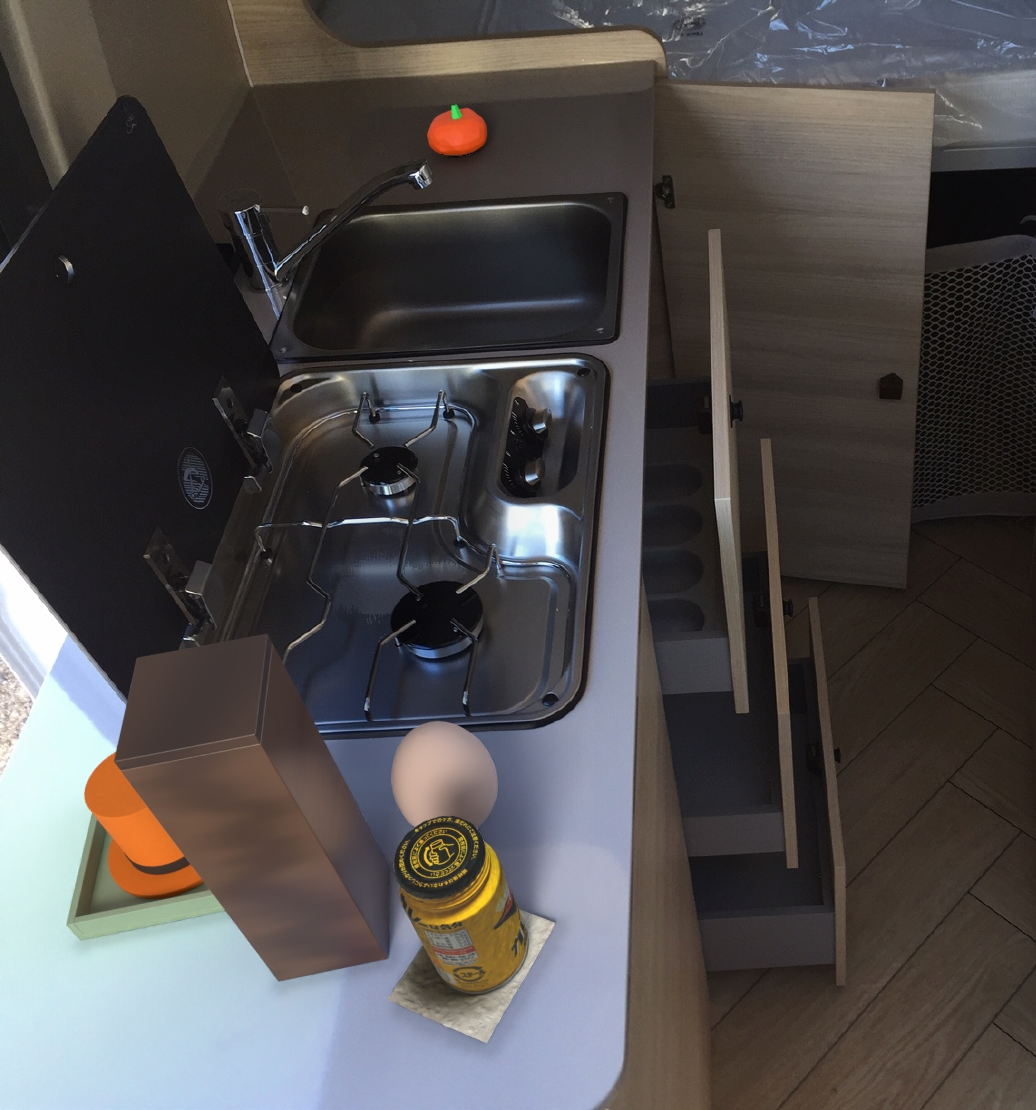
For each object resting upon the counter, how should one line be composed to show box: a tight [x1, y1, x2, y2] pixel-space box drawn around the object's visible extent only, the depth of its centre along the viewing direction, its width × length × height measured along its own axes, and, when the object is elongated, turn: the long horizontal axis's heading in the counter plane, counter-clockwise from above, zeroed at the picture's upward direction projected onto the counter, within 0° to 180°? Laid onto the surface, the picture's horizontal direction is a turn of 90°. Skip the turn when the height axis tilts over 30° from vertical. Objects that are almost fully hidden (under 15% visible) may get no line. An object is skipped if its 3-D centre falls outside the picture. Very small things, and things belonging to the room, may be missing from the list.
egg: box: [390, 720, 499, 829], centre depth 81 cm, size 7×7×10 cm
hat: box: [83, 751, 204, 899], centre depth 82 cm, size 9×9×8 cm
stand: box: [114, 633, 391, 982], centre depth 71 cm, size 7×7×24 cm
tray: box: [65, 812, 226, 941], centre depth 84 cm, size 12×12×2 cm
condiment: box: [387, 816, 556, 1044], centre depth 73 cm, size 7×8×12 cm
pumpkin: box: [426, 103, 488, 158], centre depth 156 cm, size 7×8×6 cm
